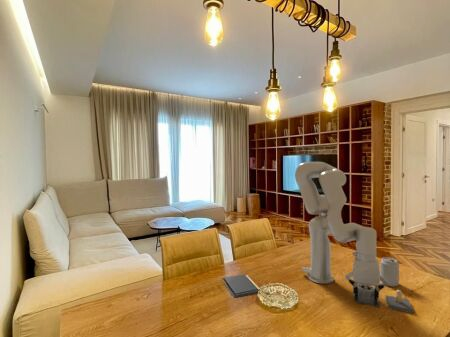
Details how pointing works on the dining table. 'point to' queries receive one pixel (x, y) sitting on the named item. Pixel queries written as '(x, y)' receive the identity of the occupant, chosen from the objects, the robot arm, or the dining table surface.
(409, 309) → the square base with peg
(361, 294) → the collar
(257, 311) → the dining table surface
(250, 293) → the dark grey book
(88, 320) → the dining table surface
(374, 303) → the stand
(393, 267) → the can
